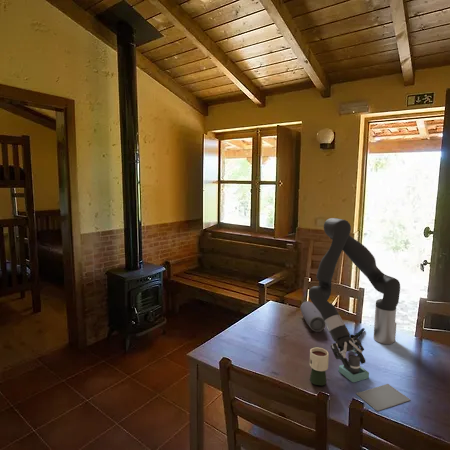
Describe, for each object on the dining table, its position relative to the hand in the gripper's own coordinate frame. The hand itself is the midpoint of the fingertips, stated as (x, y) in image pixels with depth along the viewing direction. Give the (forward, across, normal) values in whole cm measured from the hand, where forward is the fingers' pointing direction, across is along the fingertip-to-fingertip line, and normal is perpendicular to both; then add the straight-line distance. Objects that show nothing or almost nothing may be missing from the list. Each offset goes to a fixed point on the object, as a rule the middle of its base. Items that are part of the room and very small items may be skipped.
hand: (356, 365), depth 131 cm
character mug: (+1, -17, +6) cm, 18 cm away
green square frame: (+2, 0, +4) cm, 5 cm away
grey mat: (+13, -1, -6) cm, 14 cm away
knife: (-12, +24, +19) cm, 32 cm away
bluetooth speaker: (-29, +17, +36) cm, 49 cm away
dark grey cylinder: (+3, 0, +4) cm, 5 cm away
